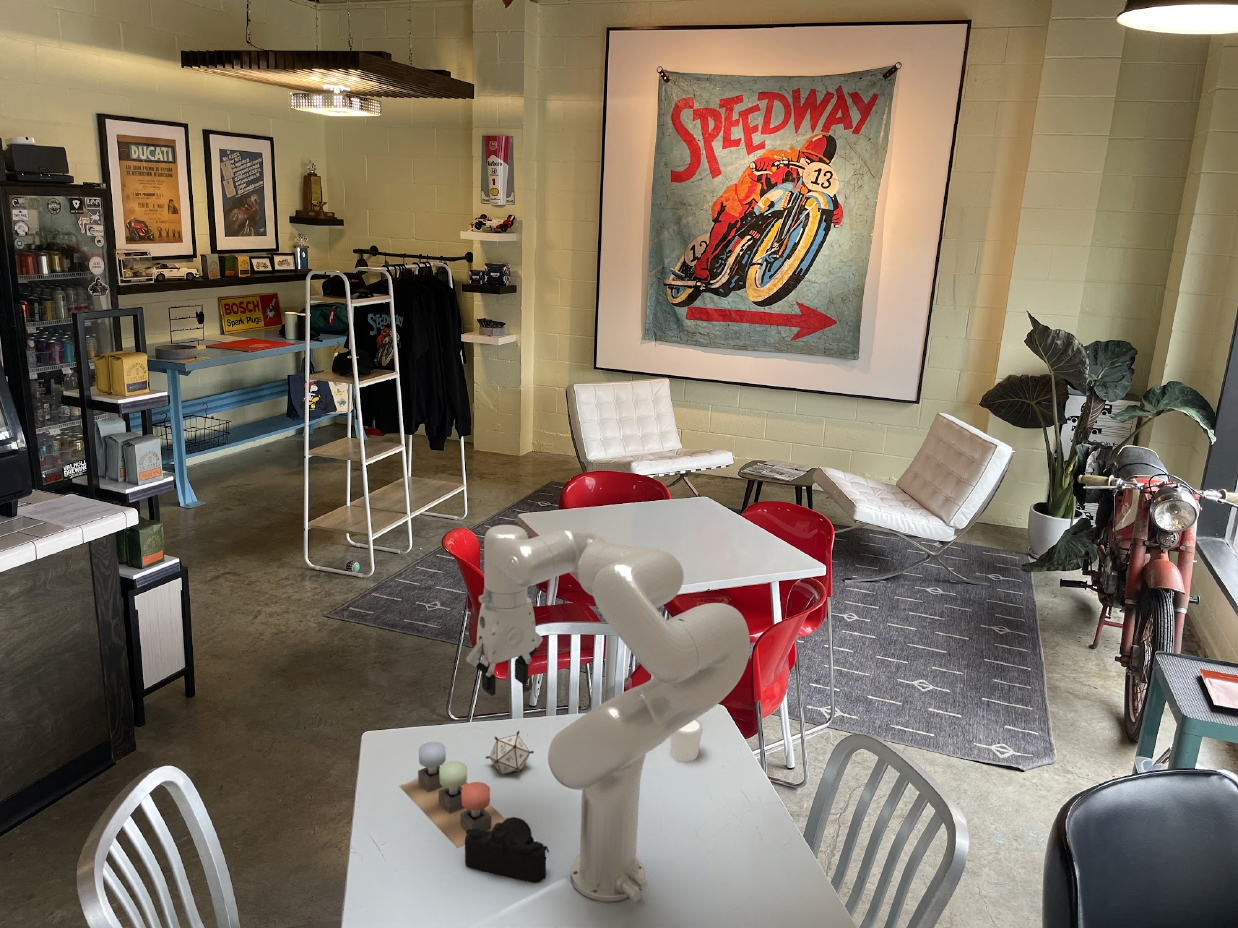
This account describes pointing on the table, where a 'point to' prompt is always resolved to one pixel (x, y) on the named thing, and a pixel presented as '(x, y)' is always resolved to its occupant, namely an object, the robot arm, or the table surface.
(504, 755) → the game die
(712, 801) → the table surface
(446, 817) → the wooden button base
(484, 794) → the brick button
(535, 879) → the film camera
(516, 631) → the robot arm
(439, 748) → the slate button
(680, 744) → the white cylinder
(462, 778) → the sage button
